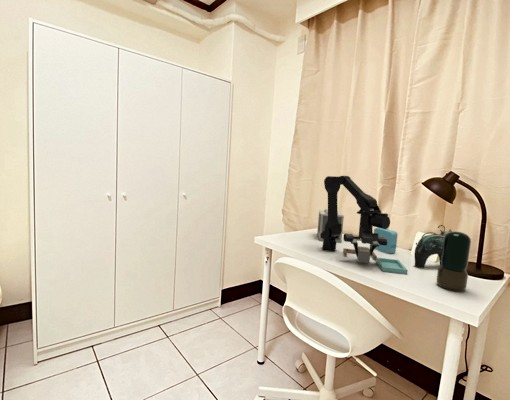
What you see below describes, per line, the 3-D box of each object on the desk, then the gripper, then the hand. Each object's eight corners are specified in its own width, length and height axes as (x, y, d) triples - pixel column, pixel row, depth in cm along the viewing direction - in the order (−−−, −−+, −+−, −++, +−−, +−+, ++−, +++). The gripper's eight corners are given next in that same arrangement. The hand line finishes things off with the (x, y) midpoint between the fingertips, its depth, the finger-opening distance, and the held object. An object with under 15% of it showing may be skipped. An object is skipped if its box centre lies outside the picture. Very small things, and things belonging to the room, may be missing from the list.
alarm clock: (316, 234, 188) (319, 207, 186) (337, 236, 187) (339, 208, 185) (319, 241, 170) (321, 211, 168) (341, 243, 169) (344, 212, 166)
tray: (382, 271, 124) (382, 267, 123) (375, 261, 137) (376, 257, 137) (407, 274, 122) (407, 270, 121) (398, 263, 135) (398, 259, 135)
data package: (395, 253, 152) (398, 232, 151) (389, 254, 151) (392, 232, 149) (377, 247, 163) (380, 227, 162) (372, 248, 161) (374, 227, 160)
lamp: (455, 294, 104) (463, 235, 101) (430, 283, 112) (437, 229, 110) (471, 290, 108) (479, 234, 105) (446, 281, 116) (453, 228, 114)
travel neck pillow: (445, 264, 139) (450, 224, 137) (457, 268, 133) (463, 227, 130) (410, 265, 135) (415, 223, 132) (421, 270, 128) (426, 226, 126)
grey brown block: (357, 261, 130) (358, 250, 130) (356, 256, 139) (357, 245, 138) (369, 263, 129) (370, 251, 129) (367, 257, 138) (368, 246, 137)
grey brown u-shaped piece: (344, 256, 142) (344, 253, 142) (343, 251, 150) (343, 248, 150) (376, 260, 139) (376, 256, 138) (373, 255, 147) (373, 251, 147)
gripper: (347, 226, 126) (344, 259, 128) (392, 230, 122) (388, 264, 124) (344, 221, 137) (341, 253, 139) (385, 225, 133) (382, 257, 135)
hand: (363, 257), depth 134 cm, fingers closed on grey brown block, 5 cm apart
